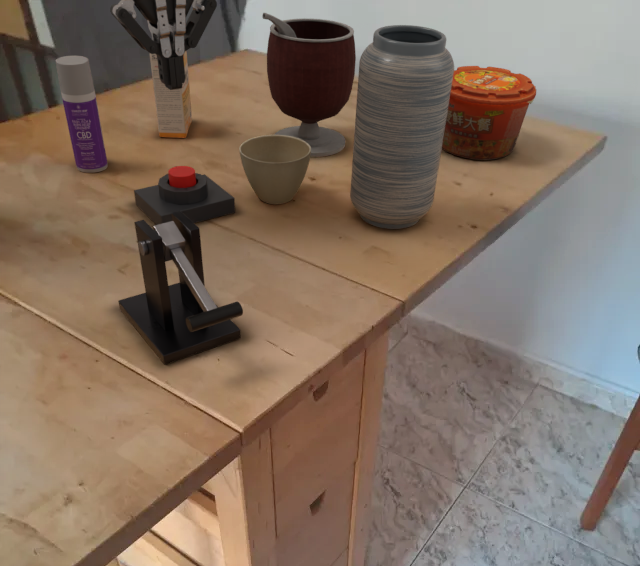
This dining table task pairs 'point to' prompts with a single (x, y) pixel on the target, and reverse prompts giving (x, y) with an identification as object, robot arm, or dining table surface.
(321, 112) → the mate gourd
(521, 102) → the food container
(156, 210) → the button box
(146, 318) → the bracket
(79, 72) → the container
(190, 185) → the button
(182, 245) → the lever
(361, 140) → the vase
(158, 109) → the supplement box
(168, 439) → the dining table surface
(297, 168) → the flower pot
